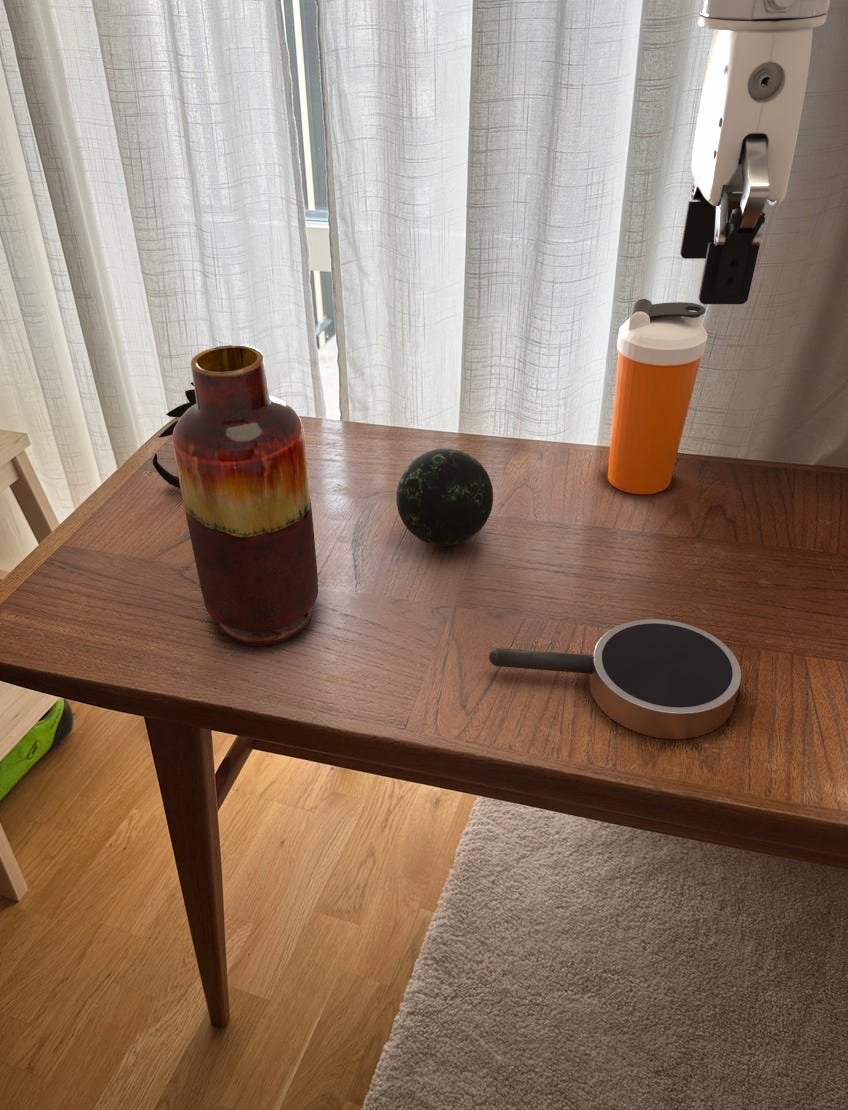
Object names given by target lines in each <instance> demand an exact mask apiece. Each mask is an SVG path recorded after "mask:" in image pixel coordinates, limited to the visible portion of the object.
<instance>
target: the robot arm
mask: <svg viewBox="0 0 848 1110" xmlns="http://www.w3.org/2000/svg"><path fill="white" fill-rule="evenodd" d="M830 3H831V0H700V7H699V14H698V19H697V25H698V26H699V27H701V28H704V29H705V28H708V29H710V30H713V31H712V37H711V43H710V49H709V50H708V53H707V56H708V58H707V62H706V67H705V73H704V78H703V84H702V89H701V95H700V99H699V100H700V101H699V106H698V112H697V119H696V124H695V132H694V138H693V146H692V152H691V153H692V155H691V164H690V165H691V167H690V168H691V175H692V177H693V179H694V180H693V182H692V186H691V192H690V201H688V202H687V208H686V216H685V221H684V226H683V233H682V237H681V238H682V239H681V244H680V245H681V246H680V251H679V253H680V256H681V258H682V259H684V260H686V259H687V260H690V259H691V260H693V259H694V260H695V259H697V260H701V259H704V260H705V261H704V266H703V271H702V276H701V282H700V287H699V292H698V300H699V302H700V304H702V305H744V304H746V303H747V302H748V300H749V296H750V291H751V287H752V282H753V278H754V274H755V269H756V265H757V261H758V255H759V251H760V246H761V241H762V237H763V225H764V224H765V222H766V217H765V216H766V213H765V212H764V210H765V207H766V204H769V205H770V206H773V207H775V206H778V205H780V204H781V203H782V202H783V201H784V199H785V198H786V196H787V191H788V187H789V181H790V176H791V171H792V168H793V161H794V156H795V150H796V145H797V140H798V135H799V129H800V124H801V118H802V113H803V107H804V103H805V102H804V101H805V96H806V90H807V85H808V78H809V77H808V76H809V70H810V63H811V57H812V56H811V55H812V45H813V44H812V43H813V36H814V35H813V34H814V28H818V27H821V26H824V25H825V24H826V21H827V18H828V13H829V8H830V5H831V4H830Z"/></svg>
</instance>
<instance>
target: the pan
mask: <svg viewBox="0 0 848 1110" xmlns="http://www.w3.org/2000/svg"><path fill="white" fill-rule="evenodd" d="M488 660H489V662H490V663H491V665H492V666H494V667H499V668H511V669H512V668H513V669H524V670H536V671H548V672H549V671H550V672H563V673H574V674H587V675H588V674H589V690H590V694H591V696H592V698H593V700H594V702H595V704H596V705H597V706H598V708H599V709H600V710H601V711H602V712H603V713H604V714H605V715H606V716H607V717H609V718H610V719H611V720H612V721H614V722H615V723H617V724H618V725H619V726H622V727H623V728H625V729H628V730H630V731H632V732H635V733H637V734H640V735H644V736H647V737H651V738H656V739H657V738H658V739H664V740H686V739H693V738H698V737H703V736H704V735H707V734H709V733H712V732H714V731H715V730H718V729H719V728H720V727H721V726H723V725H724V724H725V723H726V721H728V720H729V718H730V717H731V715H732V713H733V709H734V705H735V703H736V699H737V697H738V693H739V689H740V686H741V683H742V669H741V666H740V662H739V661H738V658H737V657H736V655H735V654H734V653H733V651H732V650H731V649H730V648H729V646H727V644H725V643H724V642H723V641H721V639H719V638H717V637H716V636H714V634H711V633H709V632H707V631H705V630H703V629H701V628H699V627H697V626H694V625H691V624H687V623H685V622H682V621H681V622H680V621H676V620H669V619H659V618H649V619H638V620H631V621H628V622H624V623H622V624H619V625H617V626H615V627H612V628H611V629H610V630H608V631H606V632H605V634H603V635H602V636H601V637H600V639H599V640H598V641H597V642H596V645H595V646H594V650H593V654H582V653H581V654H580V653H579V654H578V653H565V652H555V651H540V650H527V649H517V648H501V647H497V648H493V649H492V650H491V651H490V652H489V655H488Z"/></svg>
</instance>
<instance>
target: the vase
mask: <svg viewBox="0 0 848 1110" xmlns="http://www.w3.org/2000/svg"><path fill="white" fill-rule="evenodd" d="M264 358H265V357H264V354H263V353H262V352H261V350H259V349H257V348H255V347H253V346H249V345H243V344H241V345H240V344H228V345H226V344H225V345H219V346H214V347H211V348H208V349H204V350H203V351H200V352H199V353H197V354H196V355H195V356H194V357H192V359H191V361H190V367H191V375H192V382H194V386H193V389H195V396H196V403H197V404H195V405H193V406H192V407H190V408H189V409H188V410H187V411H186V412H185V413H184V414H183V415H182V416H181V417H179V418H178V420H179V421H178V422H177V424H176V426H175V428H174V431H173V435H171V443H172V449H173V455H174V461H175V467H176V472H177V476H178V477H179V482H180V488H181V489H180V492H181V497H182V498H181V499H182V503H183V507H184V511H185V516H186V517H185V518H186V522H187V527H188V528H187V529H188V534H189V537H190V538H189V539H190V542H191V547H192V553H193V558H194V562H195V566H196V567H195V568H196V571H197V572H196V573H197V575H198V576H197V577H198V581H199V586H200V587H199V588H200V592H201V595H202V599H203V603H204V607H205V609H206V612H207V613H208V614H209V615H210V616H211V618H213V620H214V621H216V622H217V624H218V627H219V630H220V631H221V633H222V634H223V635H224V636H225V637H226V638H227V639H229V640H231V641H232V642H234V643H237V644H240V645H243V646H247V647H248V646H249V647H269V646H275V645H278V644H281V643H285V642H287V641H289V640H291V639H293V638H295V637H296V636H298V635H299V634H301V633H302V632H303V631H304V630H305V629H306V628H307V626H308V625H309V623H310V620H311V616H312V608H313V607H314V606H315V603H316V602H317V599H318V596H319V577H318V575H319V574H318V563H317V551H316V542H315V530H314V520H313V509H312V507H313V506H312V498H311V489H310V477H309V468H308V457H307V456H308V455H307V447H306V438H305V429H304V425H303V422H302V419H301V417H300V416H299V414H298V413H297V411H296V410H295V409H294V408H293V407H292V406H290V405H289V404H288V403H286V402H285V401H284V400H282V399H280V398H278V397H276V396H273V395H271V394H270V391H269V385H268V377H267V371H266V364H265V359H264Z"/></svg>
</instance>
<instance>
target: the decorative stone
mask: <svg viewBox="0 0 848 1110" xmlns="http://www.w3.org/2000/svg"><path fill="white" fill-rule="evenodd" d="M395 499H396V509H397V511H398V512H397V513H398V515H399V517H400V520H401V521H402V523H403V525H404V526H405V527H406V529H407V530H408V531H409V532H410V533H411V534H412V535H413V536H415V537H416V538H417V539H419V540H420V541H422V542H424V543H427V544H429V545H433V546H439V547H449V546H456V545H459V544H462V543H465V542H467V541H468V540H470V539H472V538H473V537H474V536H475V535H477V534H478V533H479V532H480V531H481V530H482V528H483V527H484V526H485V525H486V523H487V521H488V520H489V518H490V515H491V514H492V513H491V512H492V509H493V504H494V489H493V485H492V480H491V479H490V476H489V474H488V471H487V470H486V469H485V467H484V466H483V465H482V463H481V462H480V461H479V460H477V458H475V457H474V456H472V455H471V454H469V453H467V452H466V451H463V450H460V449H457V448H456V449H455V448H436V449H433V450H429V451H426V452H424V453H422V454H421V455H419V456H417V457H415V459H413V460H412V461H411V462H410V463H409V464H408V465H407V467H406V468H405V469H404V471H403V473H402V475H401V476H400V478H399V481H398V485H397V489H396V498H395Z"/></svg>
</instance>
